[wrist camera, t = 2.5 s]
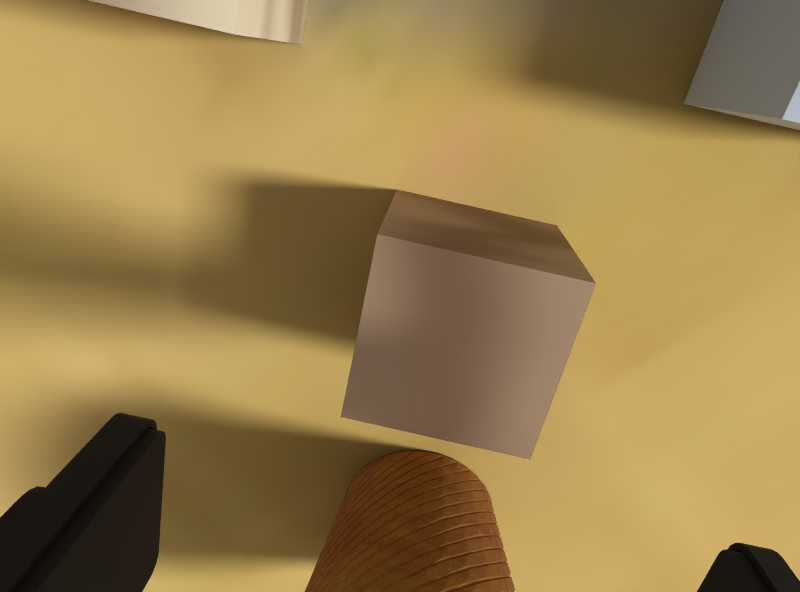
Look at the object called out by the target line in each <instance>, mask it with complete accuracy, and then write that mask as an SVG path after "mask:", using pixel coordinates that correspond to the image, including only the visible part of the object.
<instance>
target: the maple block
mask: <svg viewBox="0 0 800 592" xmlns="http://www.w3.org/2000/svg"><path fill="white" fill-rule="evenodd" d="M89 1H93V2H98V3H102V4H106V5H110V6H115V7H119V8H123V9H128V10H132V11H136V12H141V13H145V14H149V15H153V16H158V17H162V18H166V19H171V20H175V21H179V22H183V23H188V24H192V25H196V26H201V27H205V28H209V29H214V30H218V31H222V32H226V33H231V34H235V35H242V36H248V37H255V38H262V39H268V40H275V41H281V42H288V43H295V44H301V45H303V38H304V30H305V22H306V15H307V7H308V0H89Z"/></svg>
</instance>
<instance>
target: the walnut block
mask: <svg viewBox="0 0 800 592" xmlns="http://www.w3.org/2000/svg"><path fill="white" fill-rule="evenodd" d="M595 285H596V283H595V281H594V280H593V278H592V277H591V275H590V274H589V272H588V271H587V269H586V268H585V266H584V265H583V263H582V262H581V260H580V259H579V258H578V256H577V255H576V253H575V252H574V250H573V249H572V247H571V246H570V244H569V243H568V241H567V240H566V238H565V237H564V235H563V234H562V232H561V231H560V230H559V228H558V227H557V226H556V225H552V224H547V223H543V222H539V221H534V220H530V219H525V218H521V217H516V216H512V215H508V214H503V213H499V212H494V211H490V210H485V209H481V208H476V207H472V206H468V205H463V204H459V203H454V202H450V201H445V200H441V199H437V198H432V197H428V196H423V195H419V194H414V193H410V192H405V191H401V190H396V193H395V195H394V197H393V200H392V202H391V204H390V206H389V209H388V211H387V213H386V216H385V218H384V220H383V222H382V225H381V227H380V229H379V231H378V234H377V238H376V243H375V248H374V253H373V258H372V264H371V269H370V274H369V279H368V284H367V289H366V294H365V299H364V304H363V309H362V314H361V319H360V324H359V329H358V334H357V339H356V344H355V349H354V354H353V359H352V364H351V369H350V374H349V379H348V384H347V389H346V394H345V399H344V404H343V409H342V414H341V417H344V418H348V419H353V420H357V421H361V422H366V423H370V424H375V425H379V426H384V427H388V428H393V429H397V430H401V431H406V432H410V433H415V434H419V435H424V436H428V437H433V438H437V439H442V440H446V441H450V442H455V443H459V444H464V445H468V446H473V447H477V448H482V449H486V450H490V451H495V452H499V453H504V454H508V455H513V456H517V457H522V458H526V459H530V458H531V456H532V453H533V450H534V448H535V445H536V442H537V440H538V437H539V434H540V432H541V429H542V426H543V424H544V421H545V418H546V416H547V413H548V410H549V408H550V405H551V402H552V400H553V397H554V394H555V392H556V389H557V386H558V384H559V381H560V378H561V376H562V373H563V370H564V368H565V365H566V362H567V360H568V357H569V354H570V352H571V349H572V346H573V344H574V341H575V338H576V336H577V333H578V330H579V328H580V325H581V322H582V320H583V317H584V314H585V312H586V309H587V306H588V304H589V301H590V298H591V296H592V293H593V290H594V288H595Z"/></svg>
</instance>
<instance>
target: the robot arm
mask: <svg viewBox="0 0 800 592" xmlns="http://www.w3.org/2000/svg"><path fill="white" fill-rule="evenodd" d="M165 441H166V436H165V432H163V431H158V430H157V427H156V422H155V421H154V420H151V419H147V418H142V417H137V416H132V415H127V414H123V413H118V414H116V415H114V416H113V417H112V418H111V419H110V420H109V421H108V422H107V423H106V424H105V425H104V426H103V427H102V428H101V429H100V431H99V432H98V433H97V434H96V435H95V436H94V437H93V438H92V439H91V440H90V441H89V442H88V443H87V444H86V445H85V446H84V447H83V449H82V450H81V451H80V452H79V453H78V454H77V455H76V456H75V457H74V458H73V459H72V460H71V461H70V462H69V463H68V464H67V465H66V466H65V468H64V469H63V470H62V471H61V472H60V473H59V474H58V475H57V476H56V477H55V478H54V479H53V480H52V481H51V482H50V483H49V484H48V486H47V487H46V488H45V487H38V486H37V487H35V488H33V489H30V490H29V491H27V492H26V493H25V494H24V495H23V496H21V497H20V498H19V499H18V500H17V501H16V502H15V503H14V504H13V505H12V506H11V507H10V508H9V509H8V510H7V511H6V512H5V513H4V514H3V515H2V516H1V517H0V592H142V591H143V589H144V588H145V586H146V584H147V582H148V580H149V579H150V577H151V575H152V573H153V570H154V568H155V565H156V562H157V558H158V552H159V538H160V522H161V506H162V489H163V473H164V457H165ZM697 592H800V581H799V580H798V578H797V577H796V576H795V574H794V573H793V571H792V570H791V569H790V567H789V566H788V565H787V563H786V562H785V560H784V559H783V558H782V557H781V556H780V555H779V554H778V553H777V552H775V551H774V550H771V549H767V548H762V547H757V546H752V545H748V544H743V543H734V544H732V545H731V546H730V547H729V548H728V549H727V550H723V551H721V552H720V553H719V554H718V556H717V558H716V559H715V561H714V563H713V565H712V566H711V568H710V570H709V572H708V573H707V575H706V577H705V579H704V580H703V582H702V584H701V586H700V587H699V589H698V591H697Z"/></svg>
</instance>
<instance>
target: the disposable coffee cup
mask: <svg viewBox="0 0 800 592" xmlns="http://www.w3.org/2000/svg"><path fill="white" fill-rule="evenodd" d="M493 512H494V511H493V507H492V503H491V498H490V496H489V493H488V491H487V489H486V487H485V486H484V484H483V483H482V482H481V481H480V480H479V478H478V477H477V476H476V475H475V474H474V473H473V472H472V471H471V470H470V469H468V468H467V467H466V466H464V465H462V464H461V463H459V462H457V461H455V460H453V459H451V458H448V457H445V456H443V455H440V454H435V453H430V452H421V451H406V452H398V453H393V454H390V455H387V456H384V457H381V458H379V459H377V460H375V461H373V462H372V463H370V464H368V465H367V466H365V467H364V468H363V469H362V470H361V471H359V473H358V474H357V475H356V476H355V478H354V479H353V480H352V482H351V484H350V486H349V488H348V490H347V493H346V496H345V498H344V501H343V503H342V505H341V508H340V510H339V513H338V515H337V517H336V520H335V522H334V524H333V527H332V529H331V532H330V534H329V536H328V539H327V541H326V543H325V546H324V548H323V550H322V552H321V555H320V557H319V559H318V562H317V564H316V566H315V569H314V571H313V574H312V576H311V578H310V581H309V583H308V585H307V588H306V590H305V592H514V591H515V588H514V585H513V582H512V578H511V577H509V576H510V570H509V567H508V563H506V562H507V559H506V556H505V552H504V550H503V549H502V548H503V544H502V541H501V537H499V535H500V533H499V530H498V526H497V525H496V524H497V522H496V518H495V514H494V513H493Z"/></svg>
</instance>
